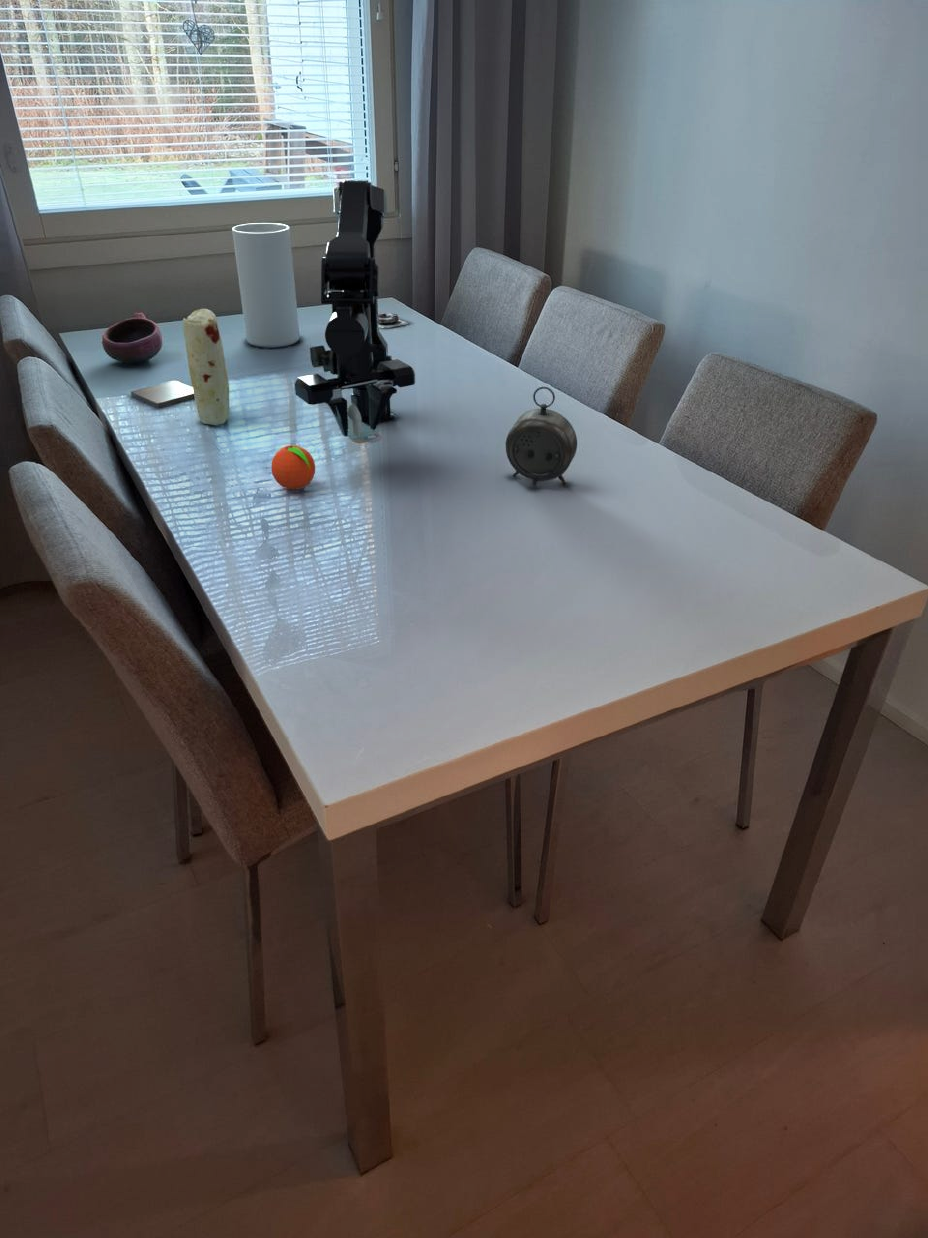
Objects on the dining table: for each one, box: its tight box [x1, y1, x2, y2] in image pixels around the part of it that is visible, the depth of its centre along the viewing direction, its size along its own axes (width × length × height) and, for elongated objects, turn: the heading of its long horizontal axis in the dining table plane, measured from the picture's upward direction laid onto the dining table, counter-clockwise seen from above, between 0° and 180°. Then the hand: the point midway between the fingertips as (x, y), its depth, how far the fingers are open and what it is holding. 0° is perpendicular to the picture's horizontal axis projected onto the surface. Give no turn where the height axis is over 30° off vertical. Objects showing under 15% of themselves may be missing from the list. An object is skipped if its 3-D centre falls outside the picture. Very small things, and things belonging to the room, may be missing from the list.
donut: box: [378, 312, 409, 329], centre depth 220 cm, size 8×8×2 cm
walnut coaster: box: [130, 379, 195, 409], centre depth 175 cm, size 10×10×1 cm
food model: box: [182, 308, 231, 426], centre depth 159 cm, size 10×7×20 cm
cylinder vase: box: [231, 222, 301, 349], centre depth 200 cm, size 12×12×25 cm
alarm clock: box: [505, 385, 578, 490], centre depth 137 cm, size 11×5×16 cm, turn 71°
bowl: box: [101, 312, 164, 364], centre depth 193 cm, size 16×13×8 cm
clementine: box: [270, 444, 316, 491], centre depth 137 cm, size 8×7×7 cm
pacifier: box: [346, 402, 383, 444], centre depth 141 cm, size 7×6×6 cm
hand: (359, 432), depth 142 cm, fingers closed on pacifier, 5 cm apart
